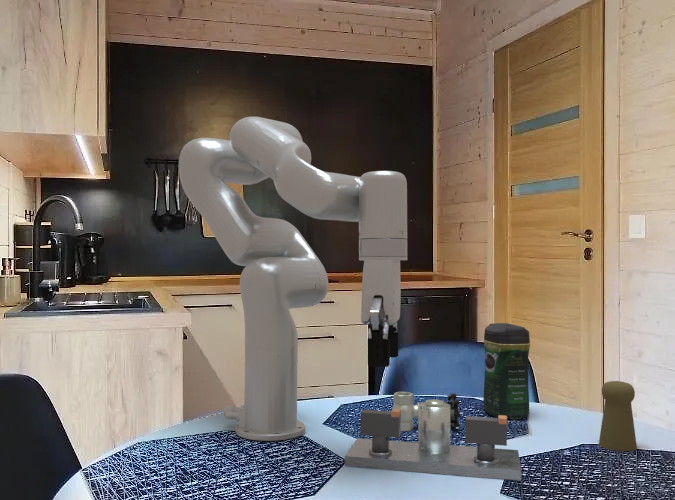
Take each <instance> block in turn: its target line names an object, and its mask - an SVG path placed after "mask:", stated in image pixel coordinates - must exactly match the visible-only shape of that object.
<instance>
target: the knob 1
mask: <svg viewBox="0 0 675 500" xmlns="http://www.w3.org/2000/svg"><path fill="white" fill-rule="evenodd" d="M359 430H360V431H359V432H360V436H369V437H371V439H372V451H373V452H375V453H387V452H389V441H390V438H396V439H399V438H400V437H401V432H402V431H401V409H393V410H390V411H388V410H378V409H377V410H376V409H375V410H374V409H362V410H361V411H360V429H359Z"/></svg>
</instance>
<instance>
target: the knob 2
mask: <svg viewBox="0 0 675 500" xmlns="http://www.w3.org/2000/svg"><path fill="white" fill-rule="evenodd" d="M464 441H465V444H476V447H477V459H478V460H480V461H484V462H492V461H494V460H495V448H496V446H506V447H507V446H508V444H507V443H508V418H507V416H504V415H498V417H488V416H487V417H485V416H484V417H483V416H470V415H468V416H467V415H465V440H464Z"/></svg>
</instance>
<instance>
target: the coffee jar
mask: <svg viewBox="0 0 675 500" xmlns="http://www.w3.org/2000/svg"><path fill="white" fill-rule="evenodd" d="M483 345H484V346H483V347H484V382H483V383H484V384H483V398H482V400H483V403H482V405H483V406H482V408H483V410H484V412H486V413H487V414H490V415H491V416H493V417H495V418H498V415H504V416H507V419H510V420H520V419H523V418H527V417H528V416H529V415H530V389H529V388H530V387H529V353H530V348H531V339H530V330H528V329H526V327H523V326H519V325H516V324H511V323H507V322H506V323H505V322H504V323H503V322H502V323H501V322H498V323H489V324H488V326H486V327H485V328H484V335H483Z"/></svg>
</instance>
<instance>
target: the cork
mask: <svg viewBox="0 0 675 500" xmlns="http://www.w3.org/2000/svg"><path fill="white" fill-rule="evenodd" d="M601 395H602V398H603V399H604V406H603V414H602V420H601V426H600V427H601V428H600V433H599V439H598V446H599V447H601V448H603V449H605V448H606V450H609V449H611V450H610V451H613V450H616V451H615V452H621V451H630V452H635V451H637V450H638V445H637V438H636V432H635V431H636V430H635V423H634V414H633V407H632V402H633V400H634V399H635V397H636V391H635V388H634V386H633V385H632V384H630V383H628V382H624V381H620V380H619V381H618V380H611V381H610V380H609V381H606V382H605V383H603V385H602V387H601ZM636 449H637V450H636ZM634 450H635V451H634Z"/></svg>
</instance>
